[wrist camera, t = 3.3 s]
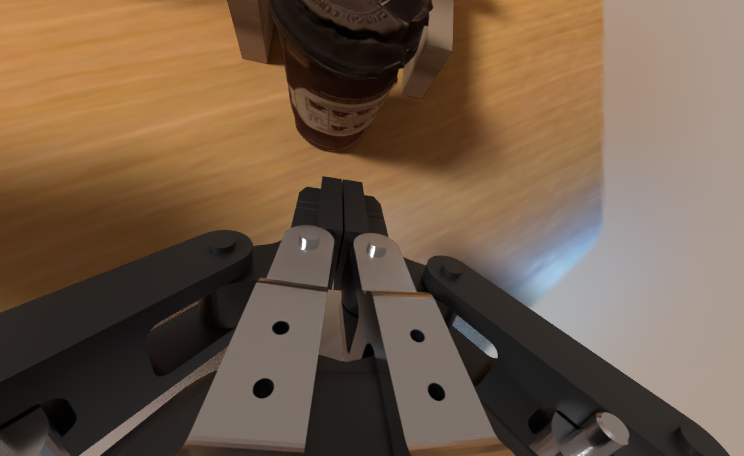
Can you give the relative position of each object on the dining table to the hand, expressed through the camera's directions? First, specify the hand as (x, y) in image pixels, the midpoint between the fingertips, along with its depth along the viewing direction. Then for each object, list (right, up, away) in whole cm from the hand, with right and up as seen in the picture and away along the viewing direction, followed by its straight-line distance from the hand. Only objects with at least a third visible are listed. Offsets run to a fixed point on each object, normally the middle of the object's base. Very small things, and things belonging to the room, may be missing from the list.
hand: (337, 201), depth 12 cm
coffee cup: (-2, +8, +14) cm, 17 cm away
